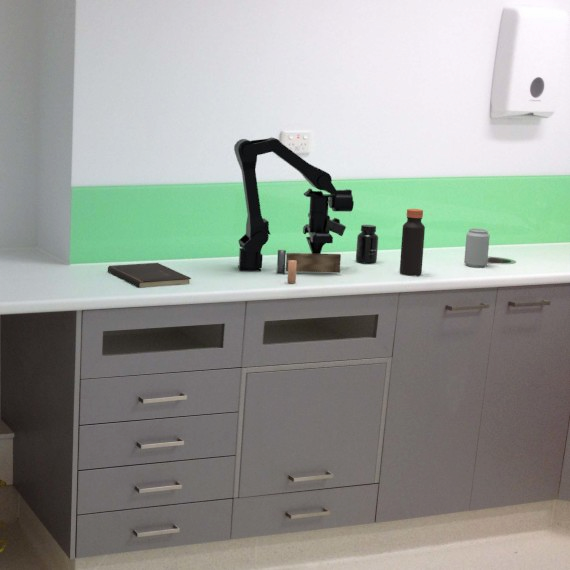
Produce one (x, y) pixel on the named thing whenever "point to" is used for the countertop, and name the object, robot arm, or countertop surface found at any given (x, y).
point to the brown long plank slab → (315, 262)
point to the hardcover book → (148, 275)
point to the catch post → (292, 271)
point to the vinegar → (412, 244)
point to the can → (476, 248)
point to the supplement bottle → (367, 245)
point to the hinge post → (281, 262)
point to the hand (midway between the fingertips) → (316, 261)
